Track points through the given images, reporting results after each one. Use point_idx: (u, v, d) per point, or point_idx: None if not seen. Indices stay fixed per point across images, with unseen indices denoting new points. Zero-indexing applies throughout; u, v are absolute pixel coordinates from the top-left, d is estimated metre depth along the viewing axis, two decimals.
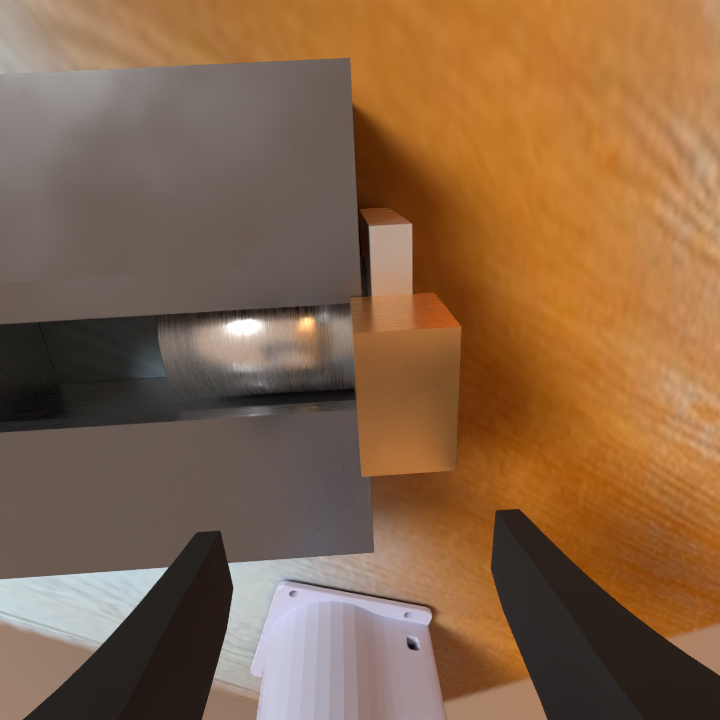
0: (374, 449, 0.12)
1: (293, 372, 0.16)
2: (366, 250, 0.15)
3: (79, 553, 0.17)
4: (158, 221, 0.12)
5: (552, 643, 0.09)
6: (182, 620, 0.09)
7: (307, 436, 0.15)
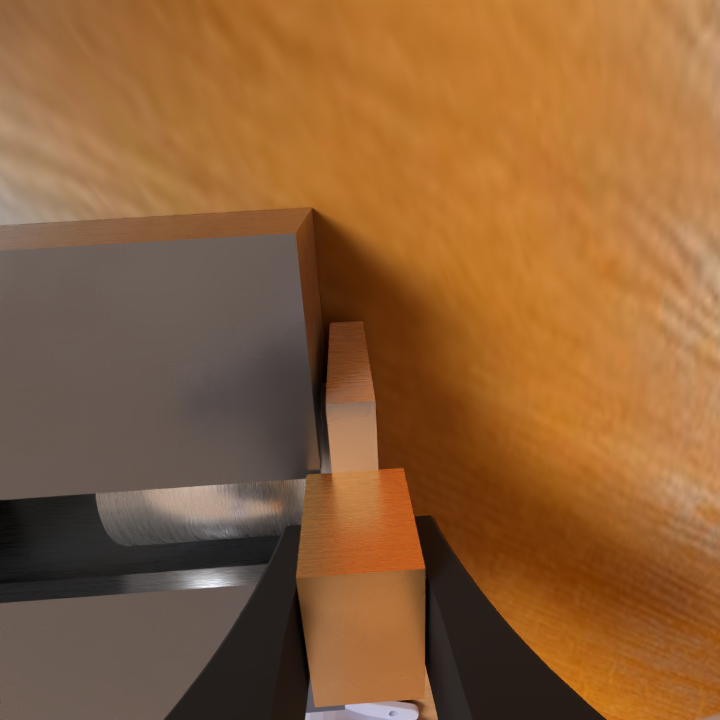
0: (328, 682, 0.10)
1: (251, 528, 0.14)
2: None
3: (18, 718, 0.15)
4: (80, 402, 0.11)
5: (438, 652, 0.09)
6: (295, 611, 0.09)
7: None
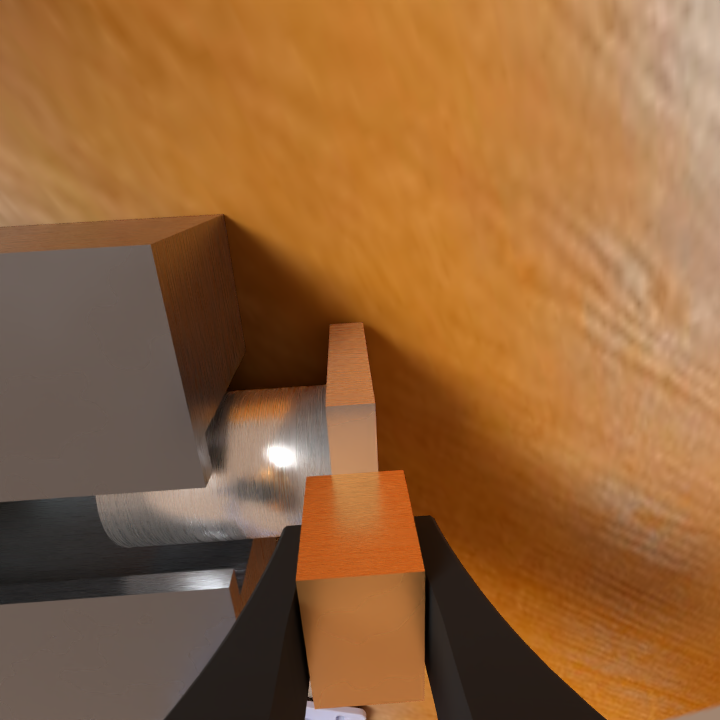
0: (327, 685, 0.10)
1: (251, 530, 0.14)
2: None
3: None
4: None
5: (438, 652, 0.09)
6: (295, 612, 0.09)
7: (164, 614, 0.14)
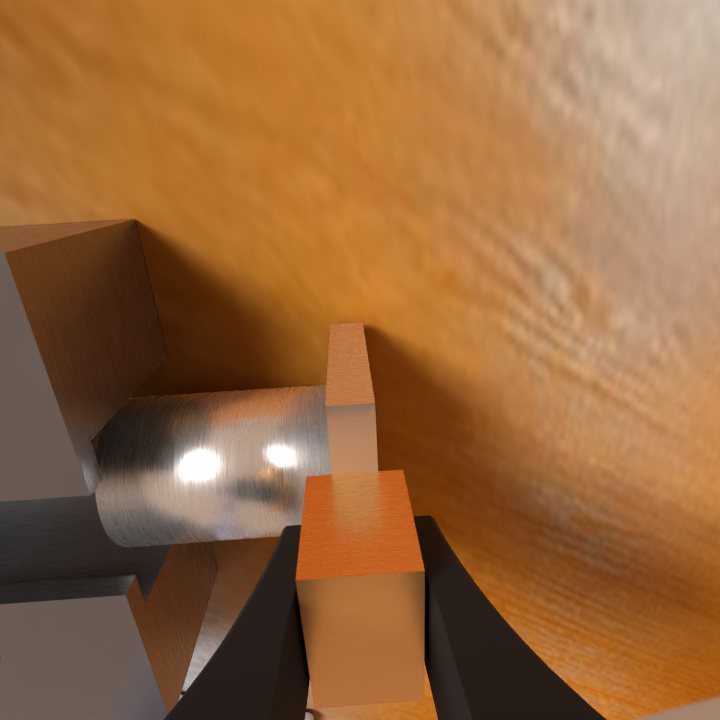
0: (327, 684, 0.10)
1: (250, 529, 0.14)
2: None
3: None
4: None
5: (438, 652, 0.09)
6: (295, 612, 0.09)
7: (63, 622, 0.13)
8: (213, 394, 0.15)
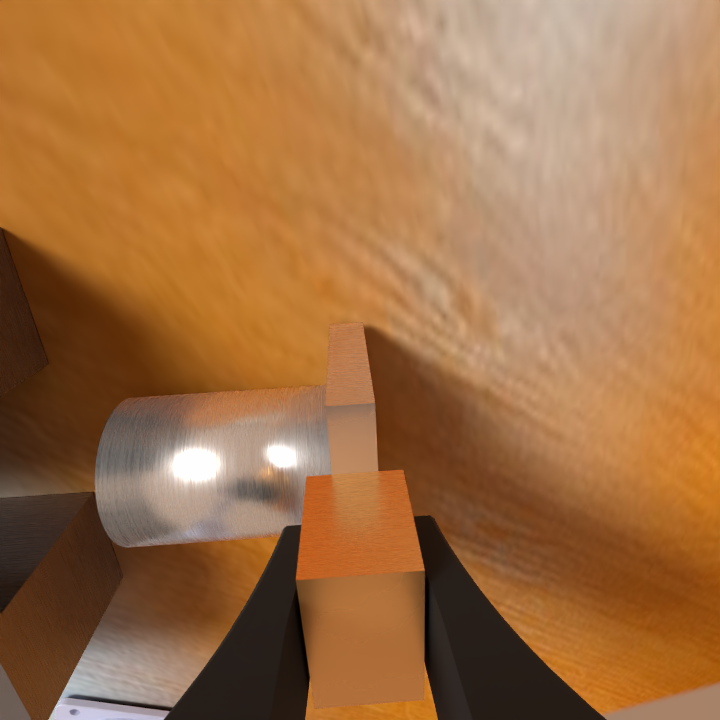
0: (327, 684, 0.10)
1: (250, 529, 0.14)
2: None
3: None
4: None
5: (438, 652, 0.09)
6: (295, 611, 0.09)
7: None
8: (213, 394, 0.15)
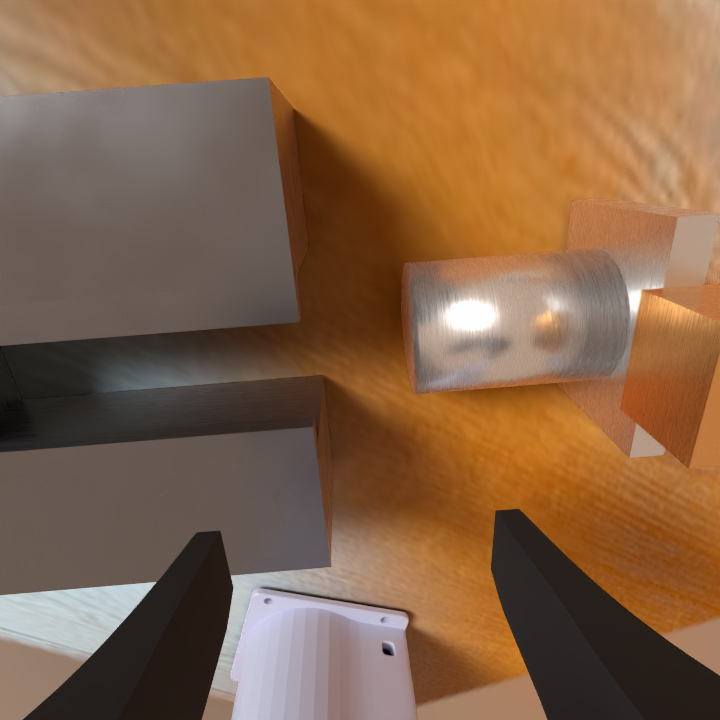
0: (709, 441, 0.12)
1: (542, 366, 0.16)
2: (628, 242, 0.15)
3: (35, 572, 0.17)
4: (86, 245, 0.12)
5: (552, 643, 0.09)
6: (182, 620, 0.09)
7: (254, 455, 0.15)
8: (486, 256, 0.17)
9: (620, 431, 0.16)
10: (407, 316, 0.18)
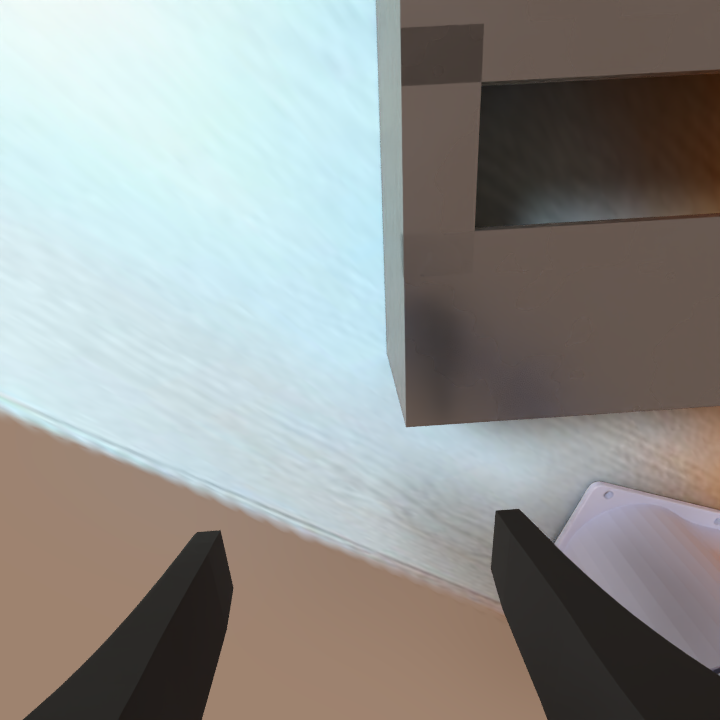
0: None
1: None
2: None
3: (564, 390, 0.15)
4: None
5: (552, 643, 0.09)
6: (182, 620, 0.09)
7: None
8: None
9: None
10: None
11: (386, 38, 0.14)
